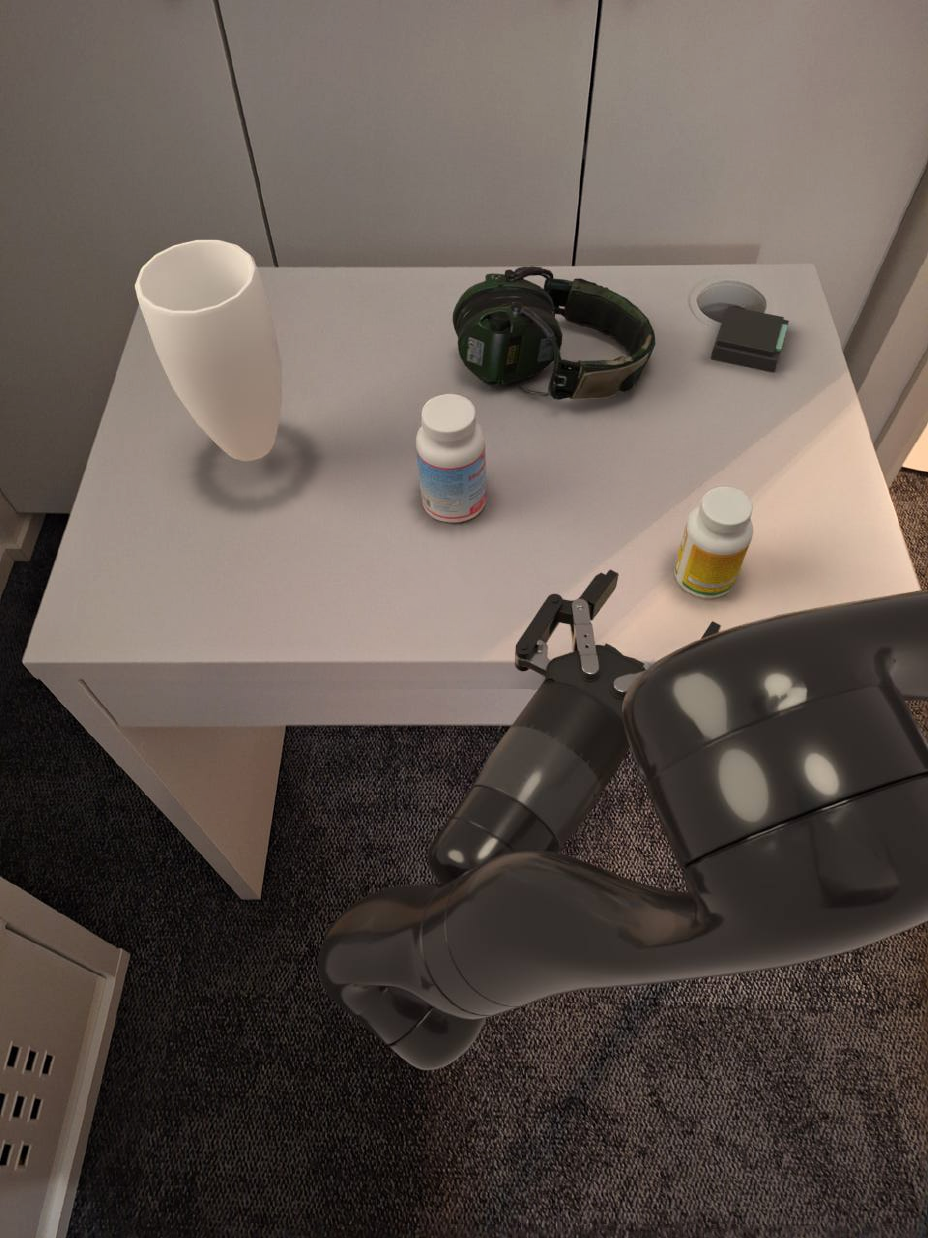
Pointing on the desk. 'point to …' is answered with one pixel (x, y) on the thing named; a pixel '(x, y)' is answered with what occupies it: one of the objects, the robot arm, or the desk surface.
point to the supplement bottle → (715, 543)
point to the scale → (750, 339)
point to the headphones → (549, 333)
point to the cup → (216, 341)
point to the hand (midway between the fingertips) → (663, 602)
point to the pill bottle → (451, 459)
